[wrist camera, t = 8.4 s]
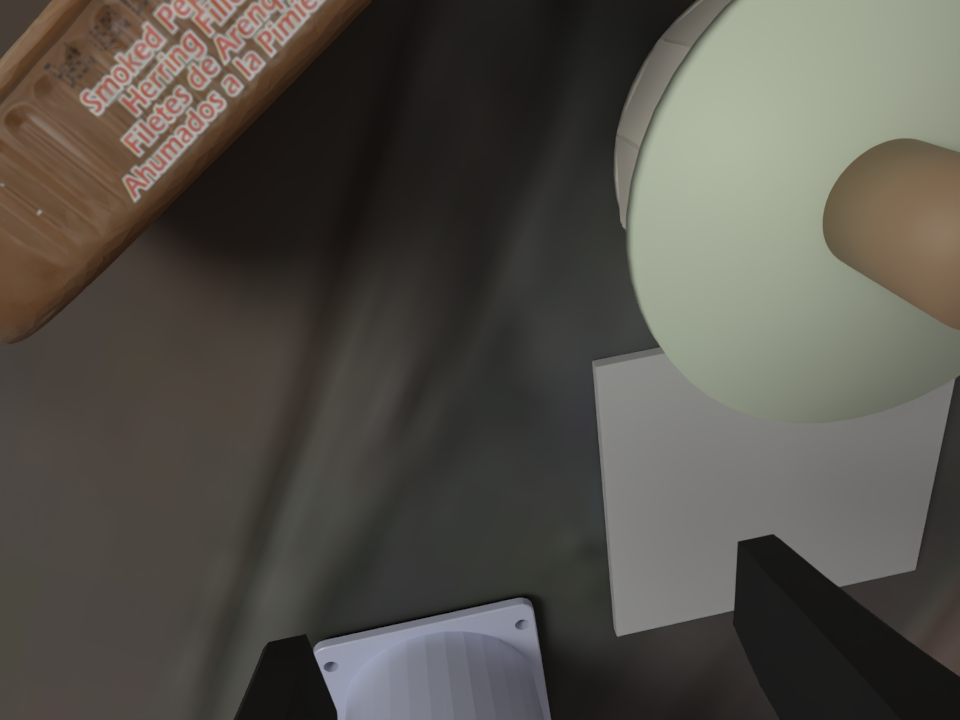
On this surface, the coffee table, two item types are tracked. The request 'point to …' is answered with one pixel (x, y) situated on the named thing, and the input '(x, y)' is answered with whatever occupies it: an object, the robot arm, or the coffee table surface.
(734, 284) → the lid
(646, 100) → the bowl
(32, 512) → the coffee table surface
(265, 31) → the tin
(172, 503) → the coffee table surface
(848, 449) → the mat
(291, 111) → the coffee table surface
